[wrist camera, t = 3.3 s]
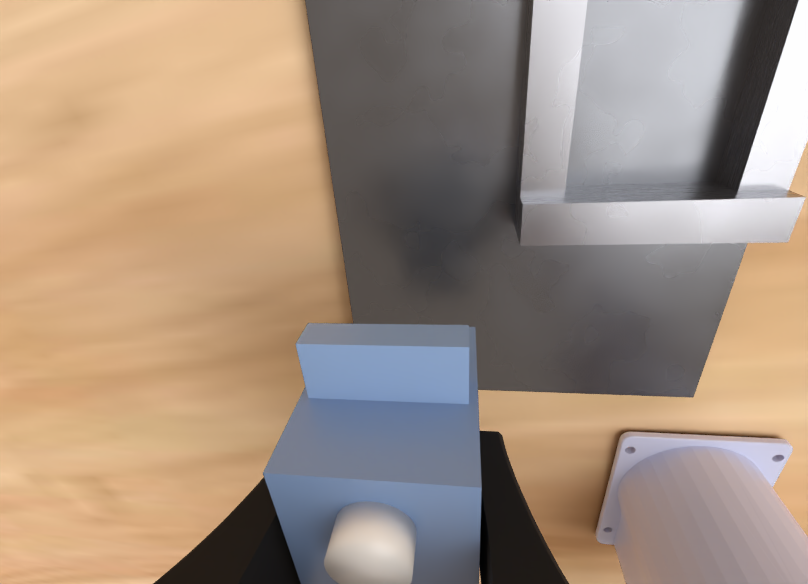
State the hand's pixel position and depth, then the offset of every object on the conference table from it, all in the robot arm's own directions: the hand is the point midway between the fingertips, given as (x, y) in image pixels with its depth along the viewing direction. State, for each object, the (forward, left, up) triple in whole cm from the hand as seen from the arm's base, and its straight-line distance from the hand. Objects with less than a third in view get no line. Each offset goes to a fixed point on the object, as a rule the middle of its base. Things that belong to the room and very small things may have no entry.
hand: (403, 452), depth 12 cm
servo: (0, 0, -2) cm, 2 cm away
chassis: (+5, -4, -9) cm, 11 cm away
